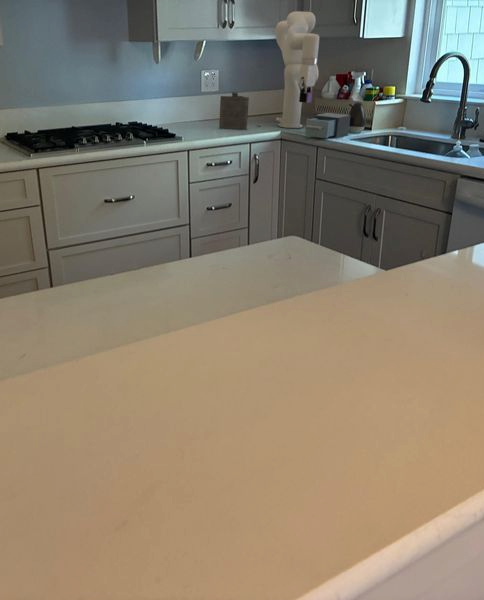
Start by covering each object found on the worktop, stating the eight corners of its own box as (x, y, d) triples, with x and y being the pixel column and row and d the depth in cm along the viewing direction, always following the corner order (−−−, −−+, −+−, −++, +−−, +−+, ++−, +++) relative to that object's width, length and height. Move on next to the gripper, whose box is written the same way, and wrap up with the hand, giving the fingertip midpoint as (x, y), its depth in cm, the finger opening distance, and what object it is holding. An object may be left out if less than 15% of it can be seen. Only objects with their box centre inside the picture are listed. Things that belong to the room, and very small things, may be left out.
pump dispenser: (339, 131, 319) (343, 100, 313) (355, 130, 323) (359, 100, 317) (352, 134, 310) (356, 102, 304) (368, 133, 314) (372, 102, 308)
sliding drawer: (322, 139, 286) (324, 122, 283) (300, 136, 292) (302, 119, 289) (338, 135, 300) (340, 118, 297) (317, 132, 306) (318, 116, 303)
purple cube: (298, 102, 302) (299, 92, 300) (303, 101, 305) (304, 91, 304) (307, 102, 300) (308, 93, 298) (311, 102, 303) (312, 92, 301)
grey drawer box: (336, 138, 297) (338, 117, 293) (312, 135, 304) (314, 115, 300) (348, 135, 308) (350, 115, 304) (325, 132, 315) (327, 112, 311)
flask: (219, 127, 319) (221, 91, 312) (247, 128, 317) (249, 92, 310) (218, 128, 316) (220, 91, 309) (246, 129, 314) (248, 92, 307)
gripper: (309, 61, 303) (306, 99, 311) (293, 61, 291) (290, 102, 298) (323, 62, 299) (319, 101, 307) (308, 62, 287) (304, 103, 294)
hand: (305, 101), depth 302 cm, fingers closed on purple cube, 4 cm apart
